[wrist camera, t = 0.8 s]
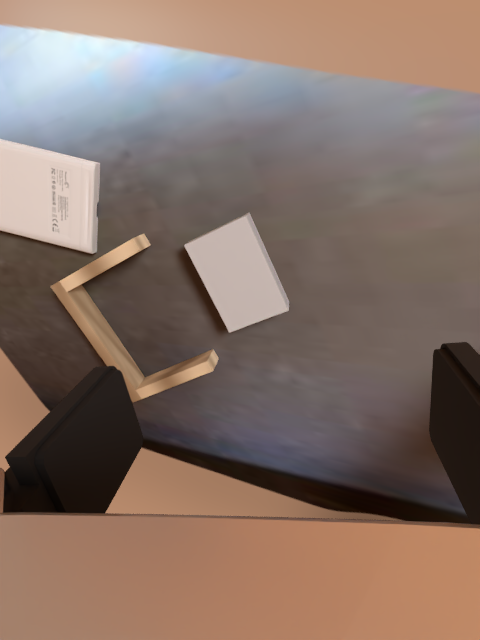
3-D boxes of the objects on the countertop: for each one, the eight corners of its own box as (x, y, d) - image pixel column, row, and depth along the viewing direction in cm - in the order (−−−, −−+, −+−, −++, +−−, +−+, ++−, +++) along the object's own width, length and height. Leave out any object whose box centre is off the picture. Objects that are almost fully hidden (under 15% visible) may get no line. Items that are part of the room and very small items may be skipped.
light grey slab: (249, 211, 31) (245, 215, 29) (289, 300, 34) (288, 310, 32) (192, 239, 33) (183, 245, 31) (233, 322, 36) (229, 332, 34)
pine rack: (144, 233, 33) (132, 238, 31) (218, 358, 37) (213, 370, 35) (66, 279, 37) (50, 286, 34) (142, 389, 41) (133, 402, 38)
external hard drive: (-24, 132, 33) (103, 163, 32) (-16, 221, 36) (99, 251, 35) (-40, 130, 31) (93, 162, 30) (-30, 224, 35) (90, 255, 34)
